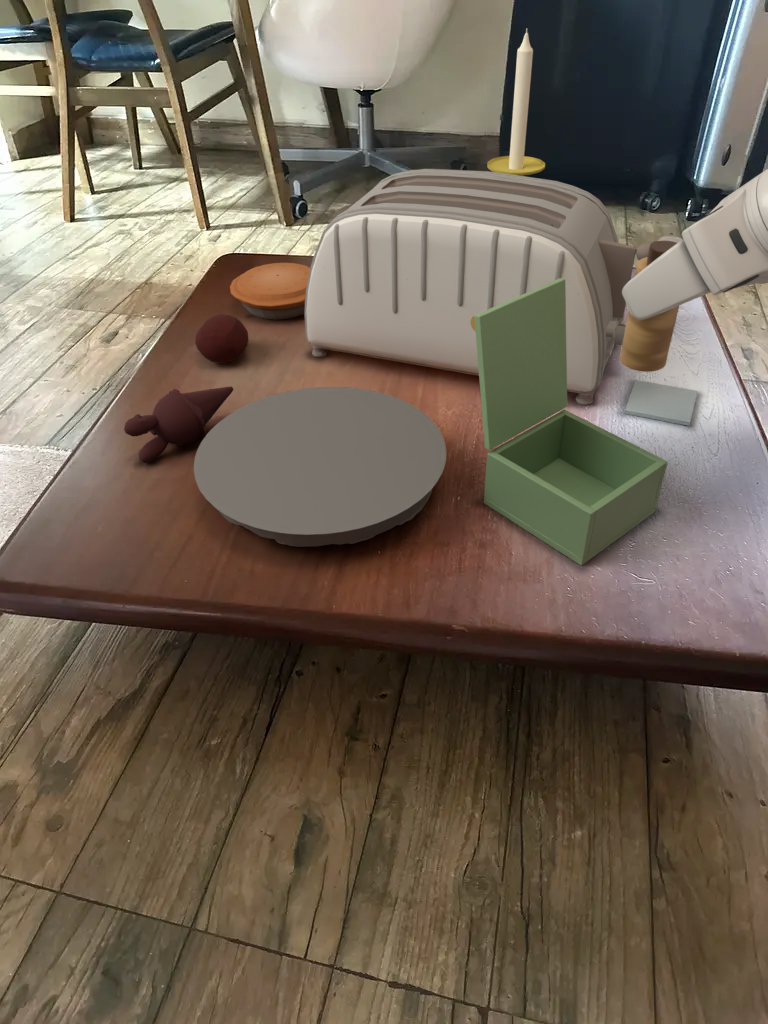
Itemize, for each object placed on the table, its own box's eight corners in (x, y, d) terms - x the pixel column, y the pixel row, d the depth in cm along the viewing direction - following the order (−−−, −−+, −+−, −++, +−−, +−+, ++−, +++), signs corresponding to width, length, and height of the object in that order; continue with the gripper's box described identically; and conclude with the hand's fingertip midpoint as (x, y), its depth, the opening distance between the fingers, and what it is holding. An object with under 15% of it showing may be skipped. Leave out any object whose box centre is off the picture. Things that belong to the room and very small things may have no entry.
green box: (655, 512, 84) (668, 461, 80) (581, 566, 78) (591, 514, 74) (557, 457, 93) (564, 409, 88) (483, 503, 86) (486, 452, 82)
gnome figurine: (207, 359, 100) (105, 415, 93) (238, 365, 95) (133, 425, 88) (227, 407, 104) (131, 464, 96) (258, 415, 98) (159, 477, 91)
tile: (696, 394, 103) (697, 390, 102) (689, 426, 97) (690, 422, 97) (634, 383, 105) (635, 379, 105) (623, 413, 100) (624, 409, 99)
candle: (514, 278, 133) (537, 20, 109) (548, 300, 126) (580, 29, 102) (463, 290, 129) (475, 26, 105) (495, 313, 122) (515, 37, 98)
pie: (251, 282, 134) (247, 254, 131) (338, 287, 131) (336, 258, 128) (219, 322, 122) (213, 292, 119) (314, 329, 120) (311, 298, 117)
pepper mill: (669, 354, 88) (695, 240, 80) (662, 375, 85) (689, 258, 76) (624, 346, 90) (645, 234, 81) (615, 367, 86) (636, 251, 78)
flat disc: (457, 425, 98) (458, 394, 96) (429, 580, 77) (429, 547, 74) (244, 409, 102) (239, 379, 100) (162, 553, 81) (153, 520, 79)
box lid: (565, 278, 80) (529, 273, 83) (479, 316, 74) (444, 308, 77) (567, 406, 88) (534, 396, 91) (489, 450, 81) (457, 438, 85)
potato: (189, 368, 111) (181, 329, 108) (216, 339, 118) (209, 302, 114) (237, 374, 110) (231, 335, 106) (262, 344, 116) (257, 306, 113)
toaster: (618, 417, 99) (653, 242, 84) (301, 360, 112) (284, 200, 98) (641, 342, 114) (674, 183, 100) (359, 299, 127) (353, 154, 113)
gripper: (803, 174, 76) (692, 246, 88) (682, 228, 66) (575, 301, 78) (833, 232, 76) (718, 295, 88) (717, 294, 66) (605, 356, 78)
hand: (650, 298), depth 83 cm, fingers closed on pepper mill, 5 cm apart
